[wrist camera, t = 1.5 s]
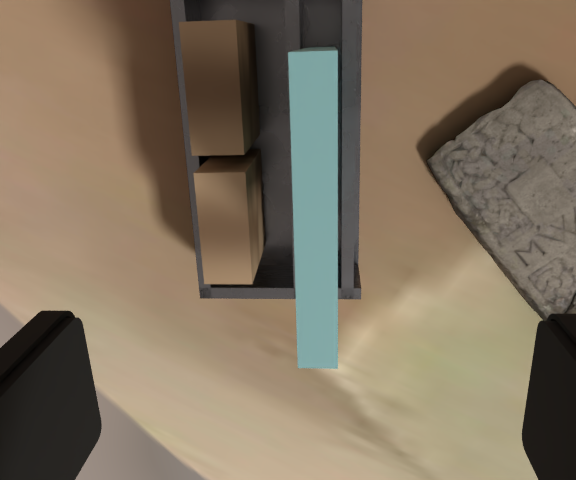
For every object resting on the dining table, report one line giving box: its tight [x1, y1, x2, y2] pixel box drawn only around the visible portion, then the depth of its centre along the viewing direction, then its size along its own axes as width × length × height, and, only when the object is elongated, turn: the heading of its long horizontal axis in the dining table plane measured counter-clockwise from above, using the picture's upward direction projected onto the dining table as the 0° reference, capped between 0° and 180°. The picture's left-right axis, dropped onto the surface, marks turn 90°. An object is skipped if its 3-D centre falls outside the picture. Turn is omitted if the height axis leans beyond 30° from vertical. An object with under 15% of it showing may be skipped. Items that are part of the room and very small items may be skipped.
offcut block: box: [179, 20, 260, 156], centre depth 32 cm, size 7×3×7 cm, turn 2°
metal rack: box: [170, 0, 362, 299], centre depth 35 cm, size 20×11×5 cm, turn 2°
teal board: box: [288, 46, 338, 369], centre depth 27 cm, size 12×2×18 cm, turn 2°
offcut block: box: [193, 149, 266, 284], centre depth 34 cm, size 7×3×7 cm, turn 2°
